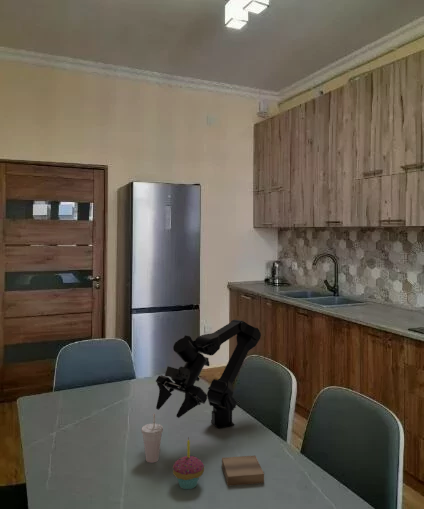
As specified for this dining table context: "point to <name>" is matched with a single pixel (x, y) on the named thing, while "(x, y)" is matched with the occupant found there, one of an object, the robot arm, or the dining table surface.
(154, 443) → the smoothie
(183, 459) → the cupcake
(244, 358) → the robot arm
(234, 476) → the plinth
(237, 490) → the dining table surface
